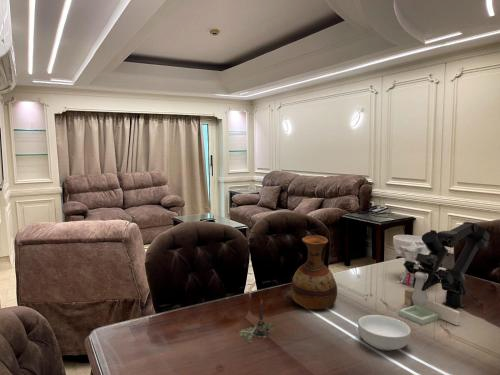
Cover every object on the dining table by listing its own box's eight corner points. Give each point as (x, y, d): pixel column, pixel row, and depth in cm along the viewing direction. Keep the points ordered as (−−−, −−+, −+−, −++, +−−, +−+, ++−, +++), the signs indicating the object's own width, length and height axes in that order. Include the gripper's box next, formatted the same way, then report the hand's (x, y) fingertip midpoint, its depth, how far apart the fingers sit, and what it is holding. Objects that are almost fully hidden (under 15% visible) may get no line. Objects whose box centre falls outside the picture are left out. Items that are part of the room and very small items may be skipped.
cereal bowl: (404, 363, 113) (406, 341, 113) (351, 348, 122) (352, 327, 121) (413, 341, 128) (414, 321, 127) (364, 329, 136) (365, 310, 136)
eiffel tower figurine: (271, 324, 140) (272, 289, 139) (285, 335, 131) (286, 299, 130) (235, 332, 133) (236, 296, 132) (248, 344, 124) (249, 306, 123)
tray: (414, 310, 154) (414, 305, 154) (438, 319, 146) (438, 314, 145) (398, 315, 149) (398, 310, 149) (422, 325, 140) (422, 319, 140)
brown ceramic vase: (284, 308, 154) (286, 237, 152) (297, 292, 172) (299, 229, 170) (332, 316, 146) (334, 242, 144) (339, 299, 165) (342, 233, 163)
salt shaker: (426, 308, 143) (427, 275, 142) (410, 305, 146) (411, 273, 145) (428, 303, 148) (429, 272, 147) (412, 300, 151) (413, 269, 150)
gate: (413, 305, 159) (414, 294, 158) (459, 324, 141) (459, 311, 140) (411, 306, 158) (411, 294, 158) (456, 325, 140) (457, 312, 140)
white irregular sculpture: (382, 277, 197) (384, 235, 195) (411, 275, 203) (413, 234, 201) (415, 294, 173) (418, 246, 172) (448, 290, 179) (450, 244, 177)
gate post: (409, 303, 162) (409, 288, 161) (414, 305, 159) (415, 290, 159) (404, 304, 160) (405, 289, 160) (410, 307, 158) (410, 291, 157)
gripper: (407, 241, 155) (389, 271, 150) (450, 251, 139) (432, 284, 134) (417, 257, 160) (400, 286, 155) (461, 268, 144) (443, 301, 139)
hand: (417, 289), depth 146 cm, fingers closed on salt shaker, 3 cm apart
